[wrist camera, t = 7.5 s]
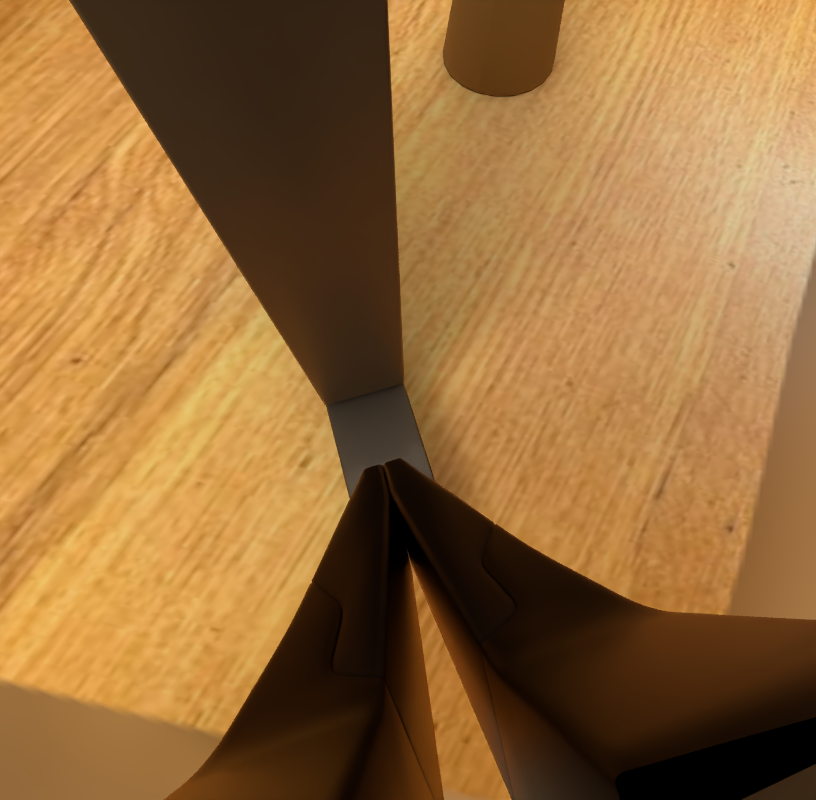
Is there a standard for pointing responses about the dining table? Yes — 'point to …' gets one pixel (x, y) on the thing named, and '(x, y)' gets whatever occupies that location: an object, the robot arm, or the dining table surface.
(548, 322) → the dining table surface
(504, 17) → the wooden game pawn
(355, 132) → the door
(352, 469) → the wooden frame stand
